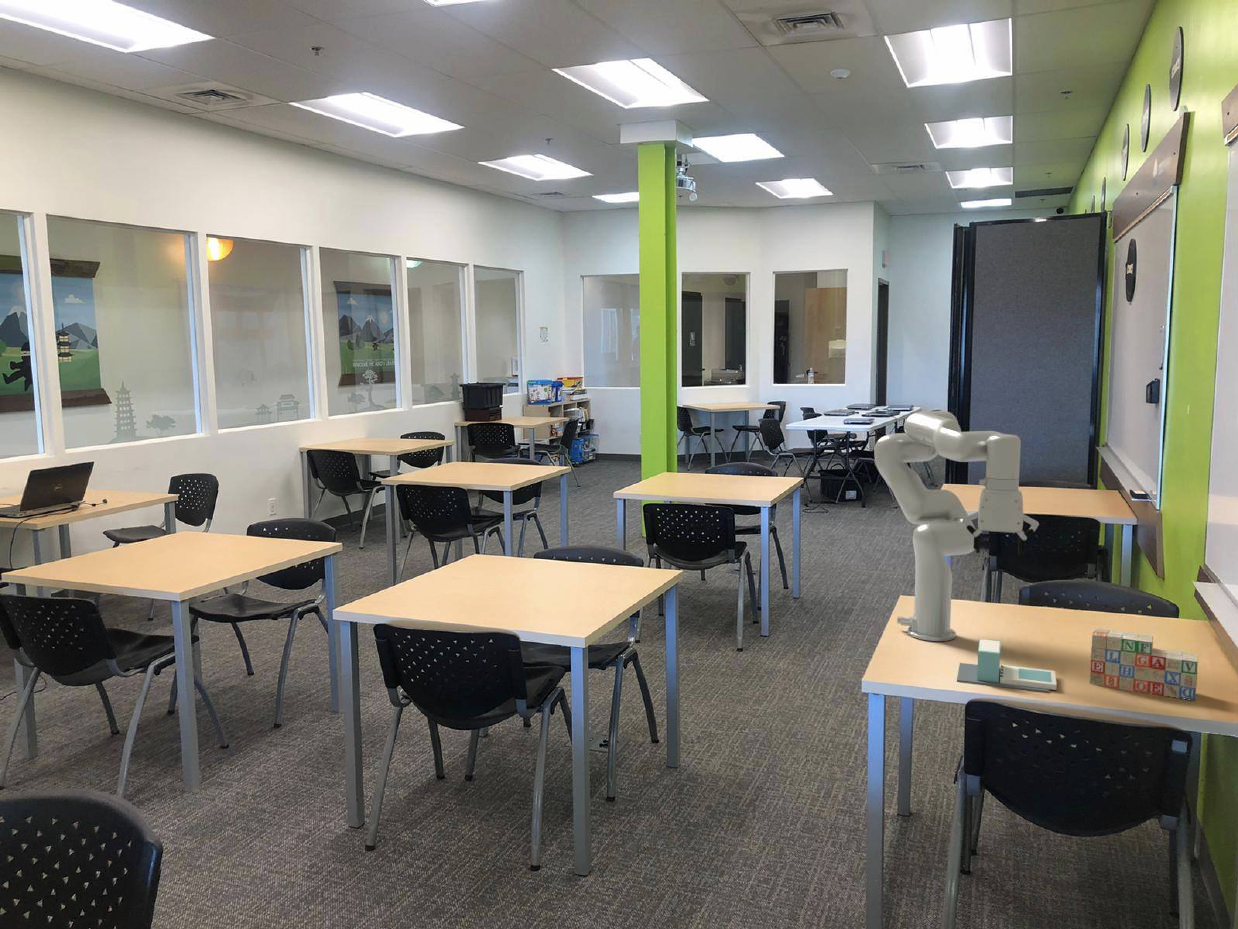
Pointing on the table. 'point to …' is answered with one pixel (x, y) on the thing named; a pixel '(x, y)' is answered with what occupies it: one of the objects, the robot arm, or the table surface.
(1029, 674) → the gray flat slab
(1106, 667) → the stack of blocks
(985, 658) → the teal rectangular block
